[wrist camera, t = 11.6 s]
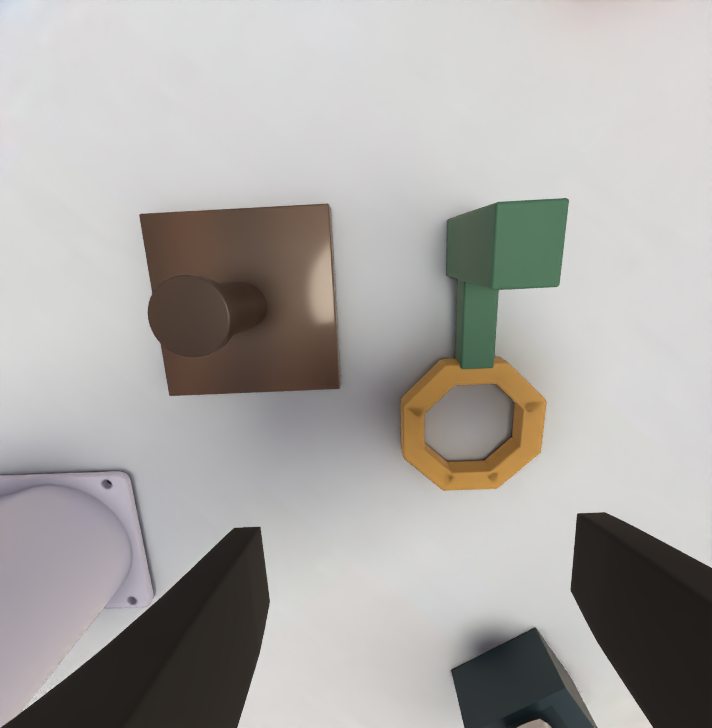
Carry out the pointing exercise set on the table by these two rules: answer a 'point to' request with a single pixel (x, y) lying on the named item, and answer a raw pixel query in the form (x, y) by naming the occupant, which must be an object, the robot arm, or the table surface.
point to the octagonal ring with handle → (488, 333)
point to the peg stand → (244, 299)
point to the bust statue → (519, 688)
